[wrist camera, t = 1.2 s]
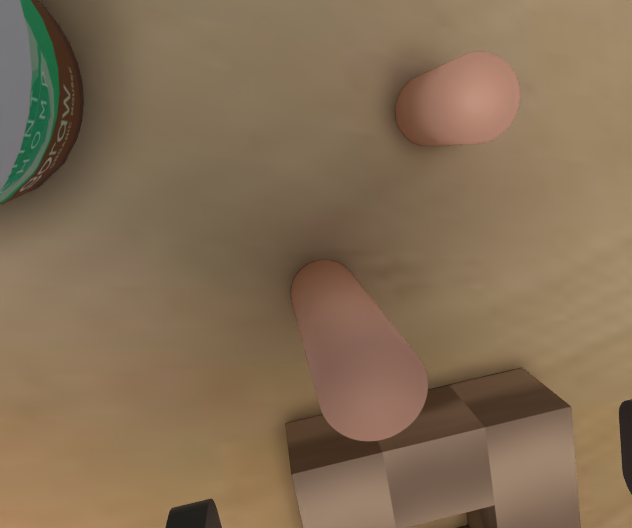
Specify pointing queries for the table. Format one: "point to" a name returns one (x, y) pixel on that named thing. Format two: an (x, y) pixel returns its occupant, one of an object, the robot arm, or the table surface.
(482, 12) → the table surface
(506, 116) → the short dowel
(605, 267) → the table surface
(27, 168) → the food container
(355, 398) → the long dowel
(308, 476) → the walnut block
